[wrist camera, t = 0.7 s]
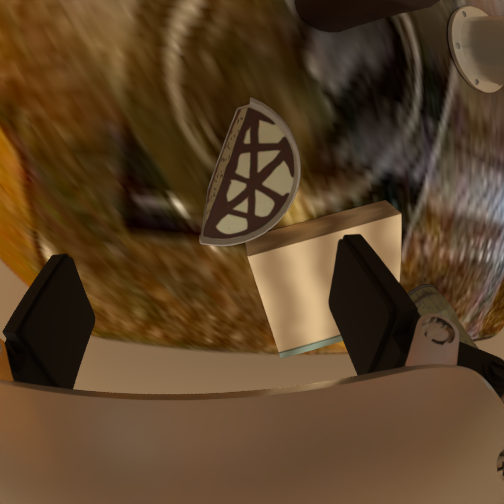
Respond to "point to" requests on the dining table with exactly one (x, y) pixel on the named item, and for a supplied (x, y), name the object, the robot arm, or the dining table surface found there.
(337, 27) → the bottle
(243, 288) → the dining table surface
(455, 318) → the thermos
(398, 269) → the dock
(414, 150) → the dining table surface
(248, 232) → the food container
